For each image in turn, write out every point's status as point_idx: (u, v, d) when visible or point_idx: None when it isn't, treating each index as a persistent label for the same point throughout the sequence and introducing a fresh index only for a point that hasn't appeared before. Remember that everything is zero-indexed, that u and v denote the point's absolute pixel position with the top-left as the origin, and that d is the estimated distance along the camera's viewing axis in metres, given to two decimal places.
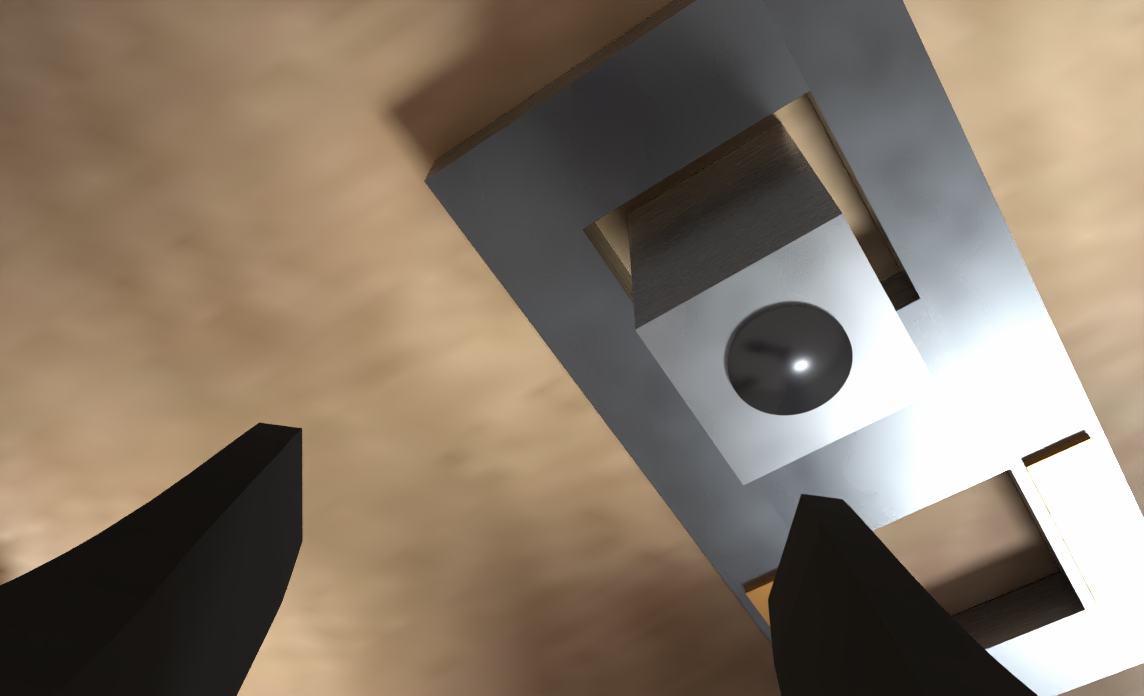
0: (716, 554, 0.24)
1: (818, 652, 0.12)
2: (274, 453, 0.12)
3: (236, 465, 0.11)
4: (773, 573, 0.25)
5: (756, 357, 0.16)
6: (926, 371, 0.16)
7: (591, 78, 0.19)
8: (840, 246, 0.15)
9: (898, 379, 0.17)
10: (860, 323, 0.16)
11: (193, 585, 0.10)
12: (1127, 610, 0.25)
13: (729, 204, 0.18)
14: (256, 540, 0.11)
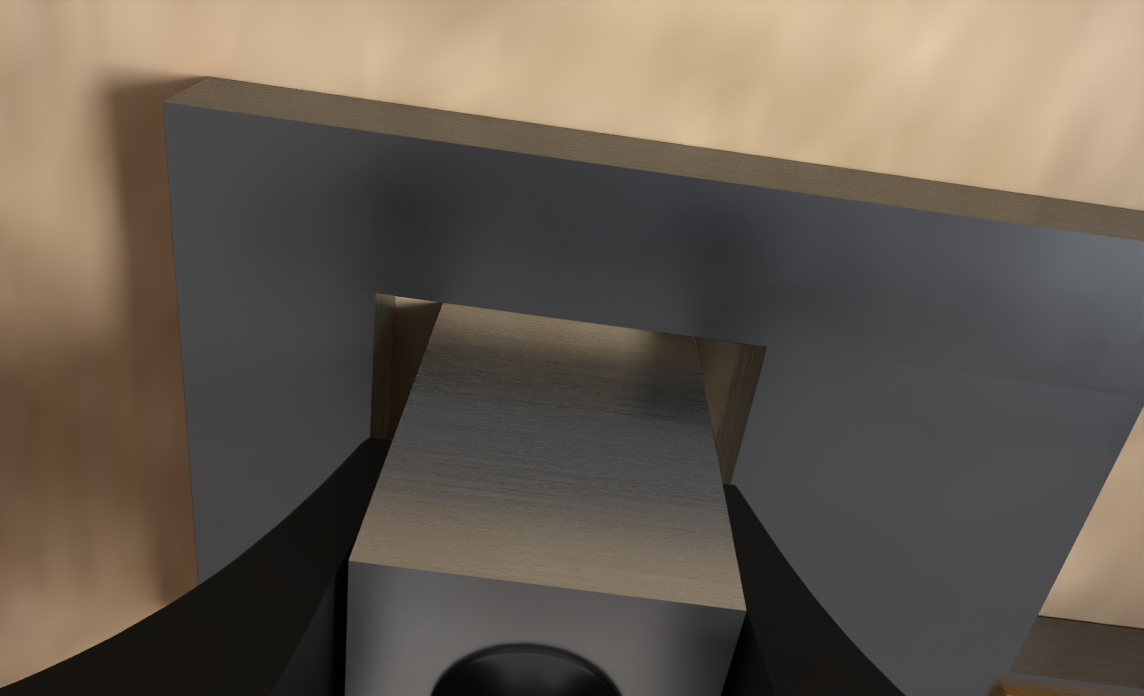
0: None
1: None
2: None
3: (360, 481, 0.11)
4: None
5: None
6: (697, 607, 0.09)
7: (199, 478, 0.14)
8: (399, 588, 0.09)
9: (676, 639, 0.09)
10: (542, 630, 0.09)
11: (337, 603, 0.10)
12: None
13: None
14: None
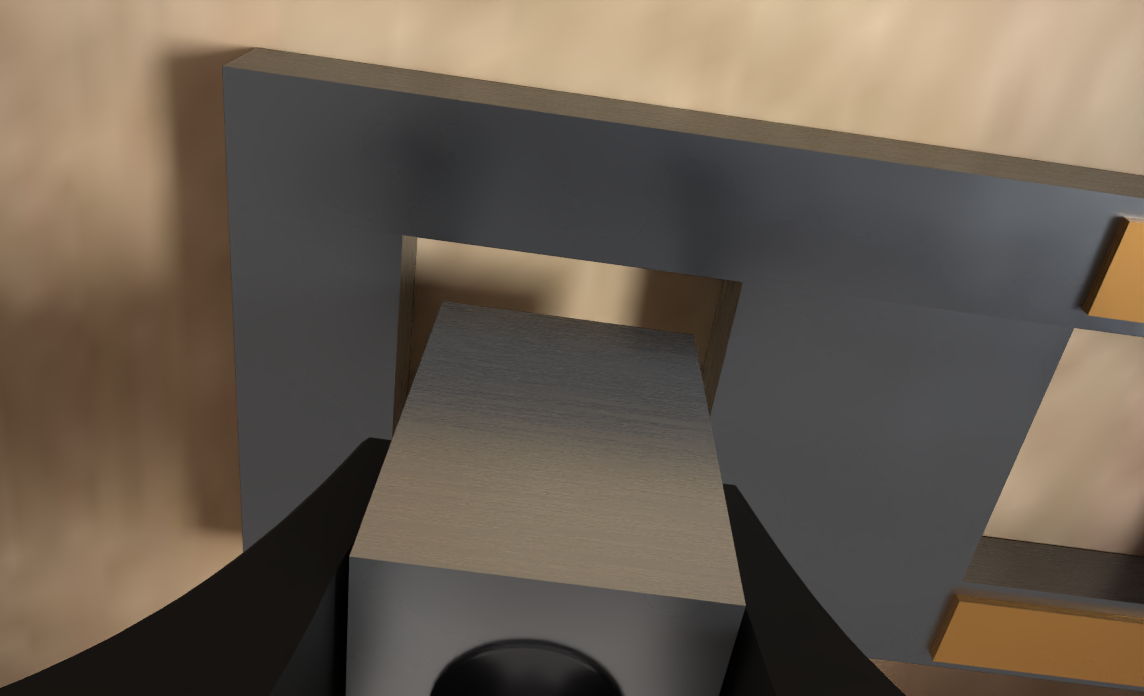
0: (859, 646, 0.18)
1: None
2: None
3: (360, 481, 0.11)
4: (942, 620, 0.18)
5: None
6: (696, 603, 0.09)
7: (244, 404, 0.16)
8: (399, 583, 0.09)
9: (675, 635, 0.09)
10: (542, 625, 0.09)
11: (337, 603, 0.10)
12: None
13: None
14: None
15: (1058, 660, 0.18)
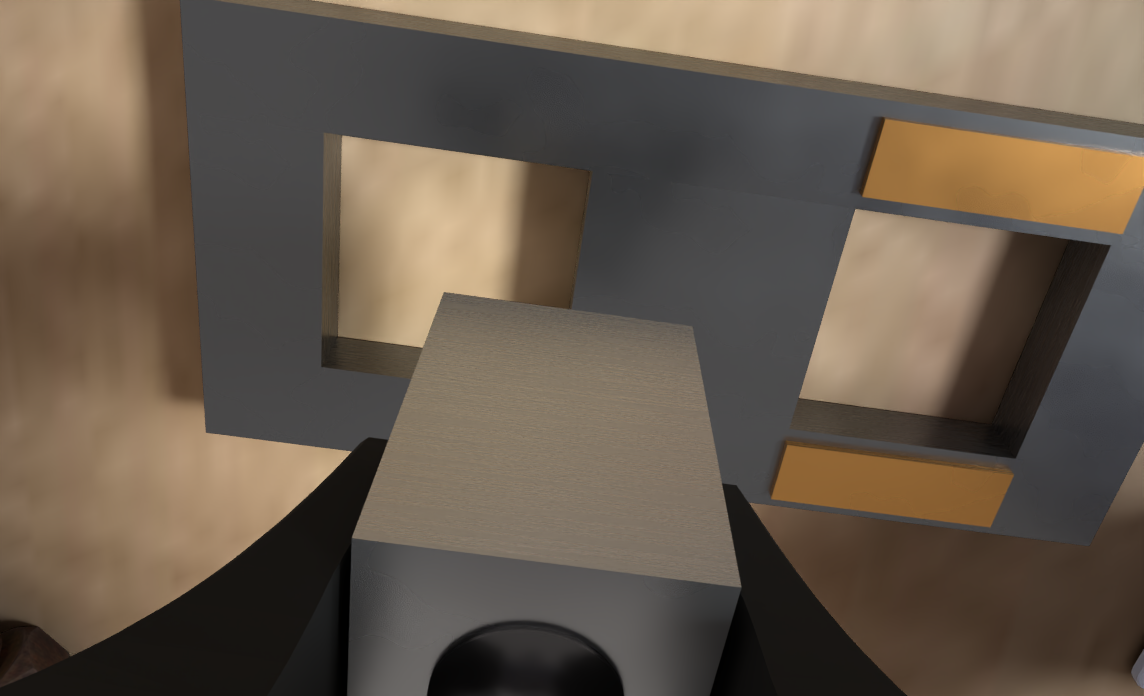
0: None
1: None
2: None
3: (359, 481, 0.11)
4: (777, 464, 0.22)
5: None
6: (693, 585, 0.09)
7: (202, 275, 0.20)
8: (400, 566, 0.09)
9: (672, 616, 0.10)
10: (542, 606, 0.10)
11: (336, 603, 0.10)
12: None
13: None
14: None
15: (873, 498, 0.22)
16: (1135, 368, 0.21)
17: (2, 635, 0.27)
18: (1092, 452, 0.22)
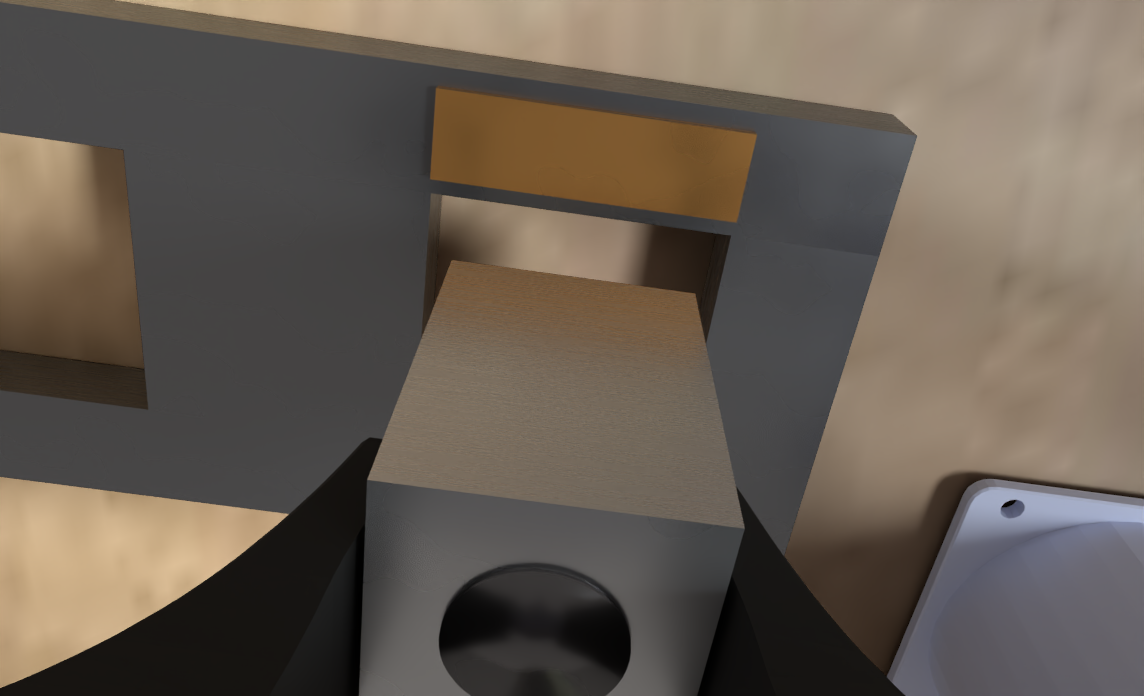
0: None
1: None
2: None
3: (360, 481, 0.11)
4: None
5: (494, 672, 0.11)
6: (697, 525, 0.10)
7: None
8: (415, 508, 0.10)
9: (678, 558, 0.10)
10: (550, 547, 0.10)
11: (337, 603, 0.10)
12: (773, 191, 0.16)
13: None
14: None
15: None
16: (787, 376, 0.18)
17: None
18: (759, 471, 0.19)
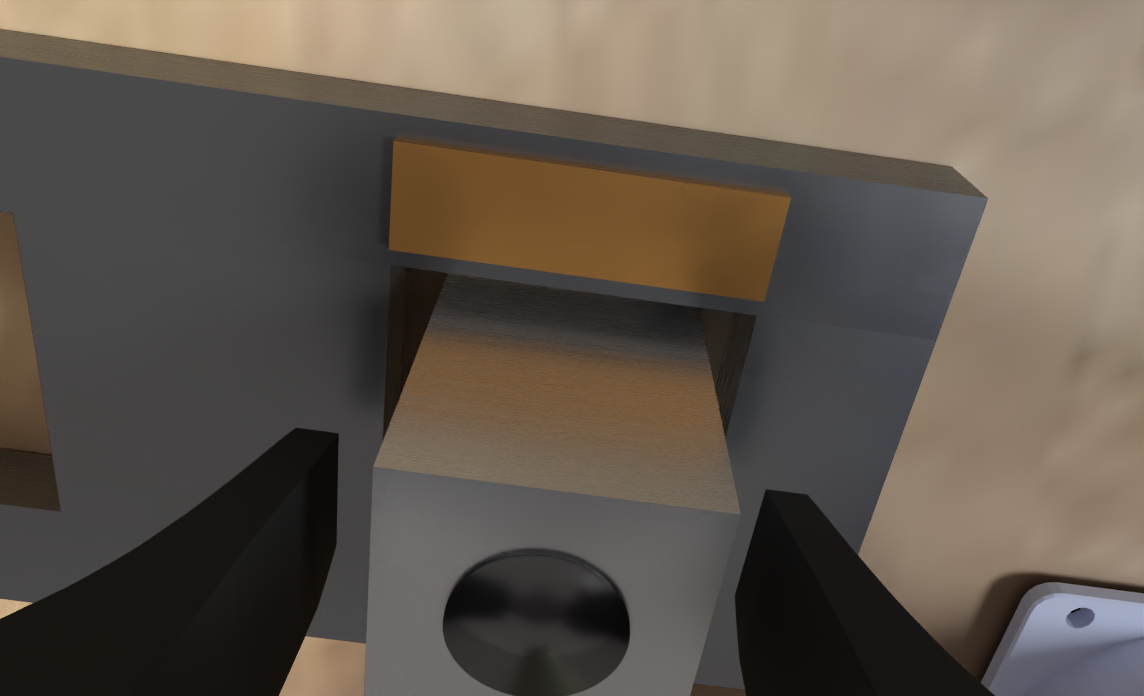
0: None
1: (778, 646, 0.12)
2: (314, 458, 0.12)
3: (278, 470, 0.11)
4: None
5: (496, 655, 0.11)
6: (695, 511, 0.10)
7: None
8: (420, 494, 0.10)
9: (676, 543, 0.10)
10: (552, 534, 0.10)
11: (241, 591, 0.10)
12: (810, 264, 0.13)
13: None
14: (297, 545, 0.11)
15: None
16: (822, 478, 0.15)
17: None
18: None
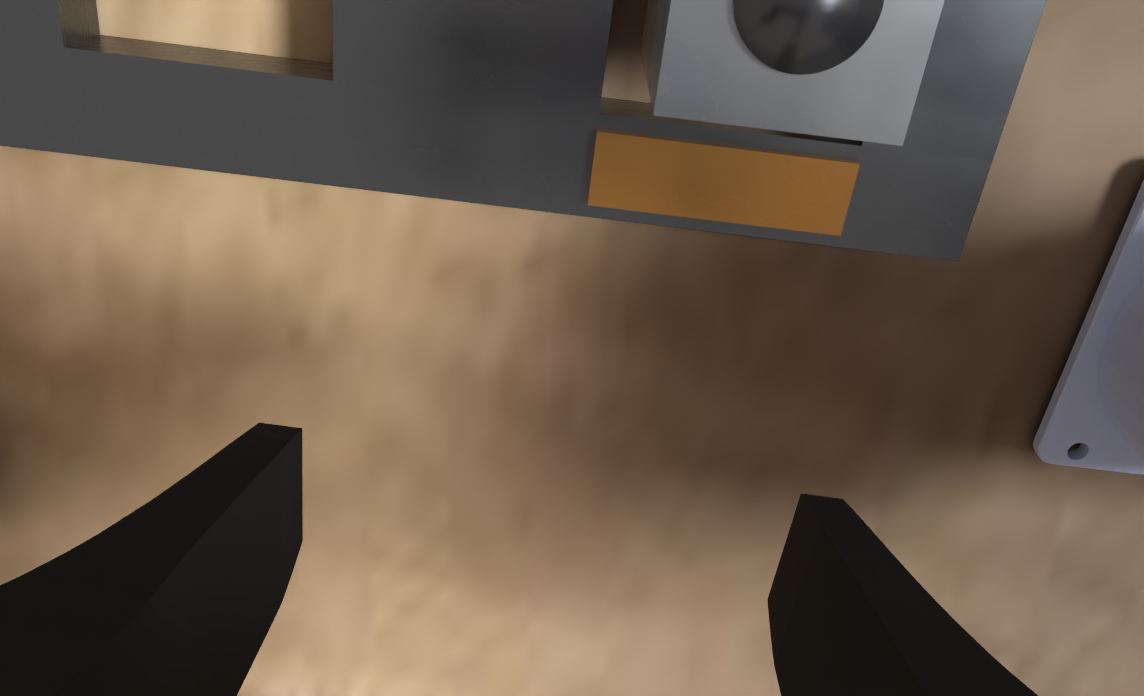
0: (522, 197, 0.20)
1: (818, 652, 0.12)
2: (274, 453, 0.12)
3: (236, 465, 0.11)
4: (591, 161, 0.19)
5: (774, 26, 0.14)
6: None
7: None
8: None
9: None
10: None
11: (193, 585, 0.10)
12: None
13: None
14: (256, 540, 0.11)
15: (702, 200, 0.20)
16: (987, 17, 0.18)
17: None
18: (949, 134, 0.19)
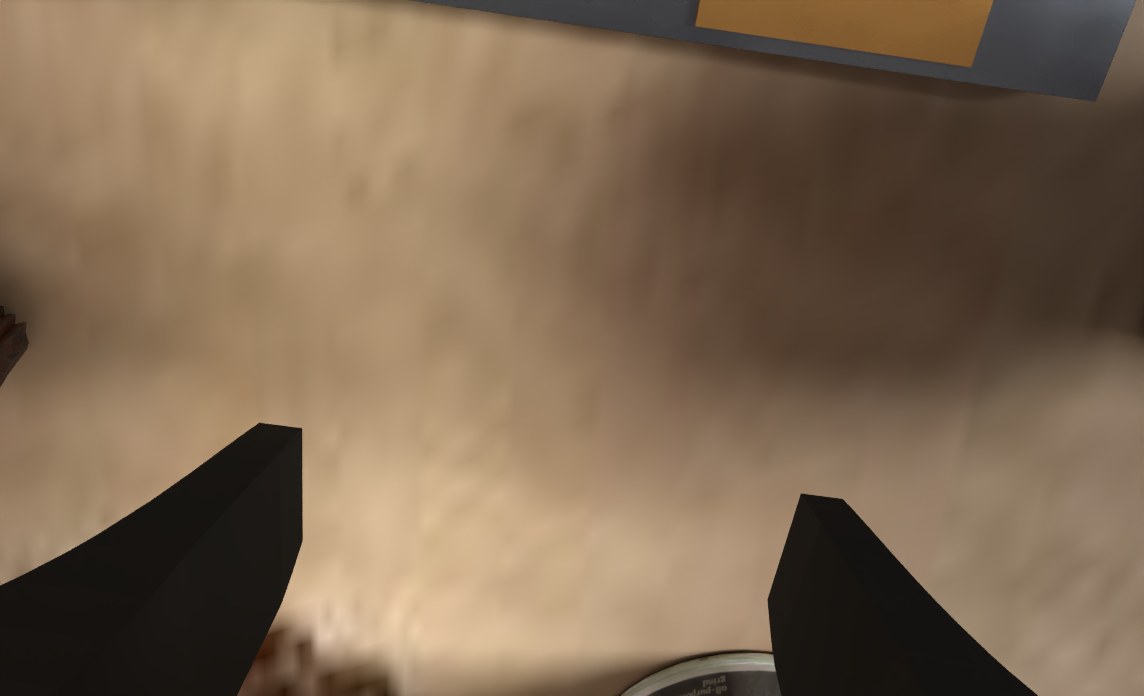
0: (622, 17, 0.18)
1: (818, 652, 0.12)
2: (274, 453, 0.12)
3: (236, 465, 0.11)
4: None
5: None
6: None
7: None
8: None
9: None
10: None
11: (193, 585, 0.10)
12: None
13: None
14: (256, 540, 0.11)
15: (823, 22, 0.18)
16: None
17: None
18: None
